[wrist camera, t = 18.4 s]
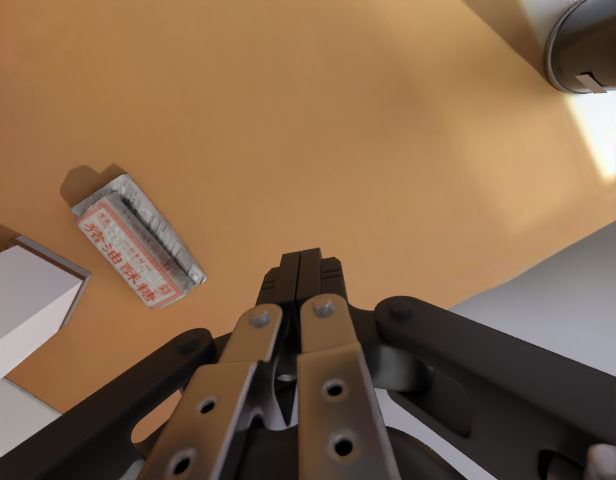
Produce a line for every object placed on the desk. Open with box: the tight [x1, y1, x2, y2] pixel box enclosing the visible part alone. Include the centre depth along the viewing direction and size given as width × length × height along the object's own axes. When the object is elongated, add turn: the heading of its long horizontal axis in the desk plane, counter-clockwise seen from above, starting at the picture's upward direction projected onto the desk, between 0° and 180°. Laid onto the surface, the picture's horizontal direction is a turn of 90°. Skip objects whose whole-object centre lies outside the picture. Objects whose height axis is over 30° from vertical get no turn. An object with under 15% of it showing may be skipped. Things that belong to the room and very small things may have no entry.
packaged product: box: [70, 174, 207, 309], centre depth 42 cm, size 18×5×10 cm
